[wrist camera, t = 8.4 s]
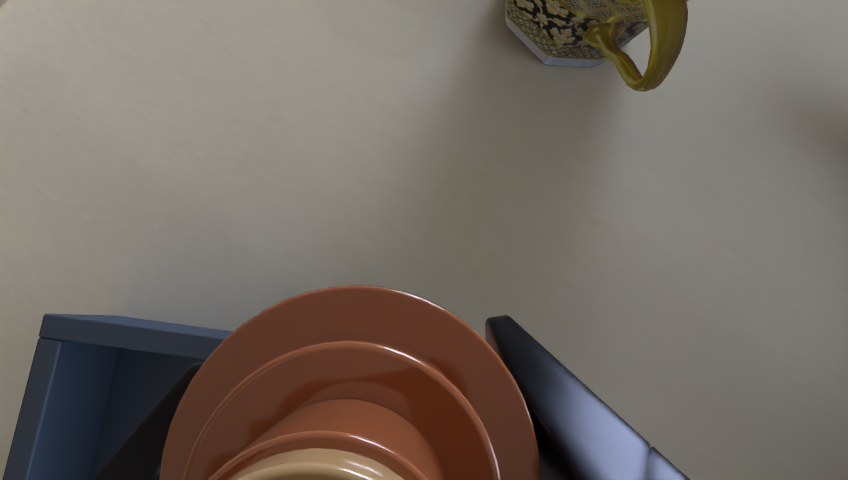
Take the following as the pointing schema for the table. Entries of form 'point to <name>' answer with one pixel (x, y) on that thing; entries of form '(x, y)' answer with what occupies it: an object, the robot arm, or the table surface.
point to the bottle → (352, 397)
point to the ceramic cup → (601, 33)
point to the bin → (96, 389)
